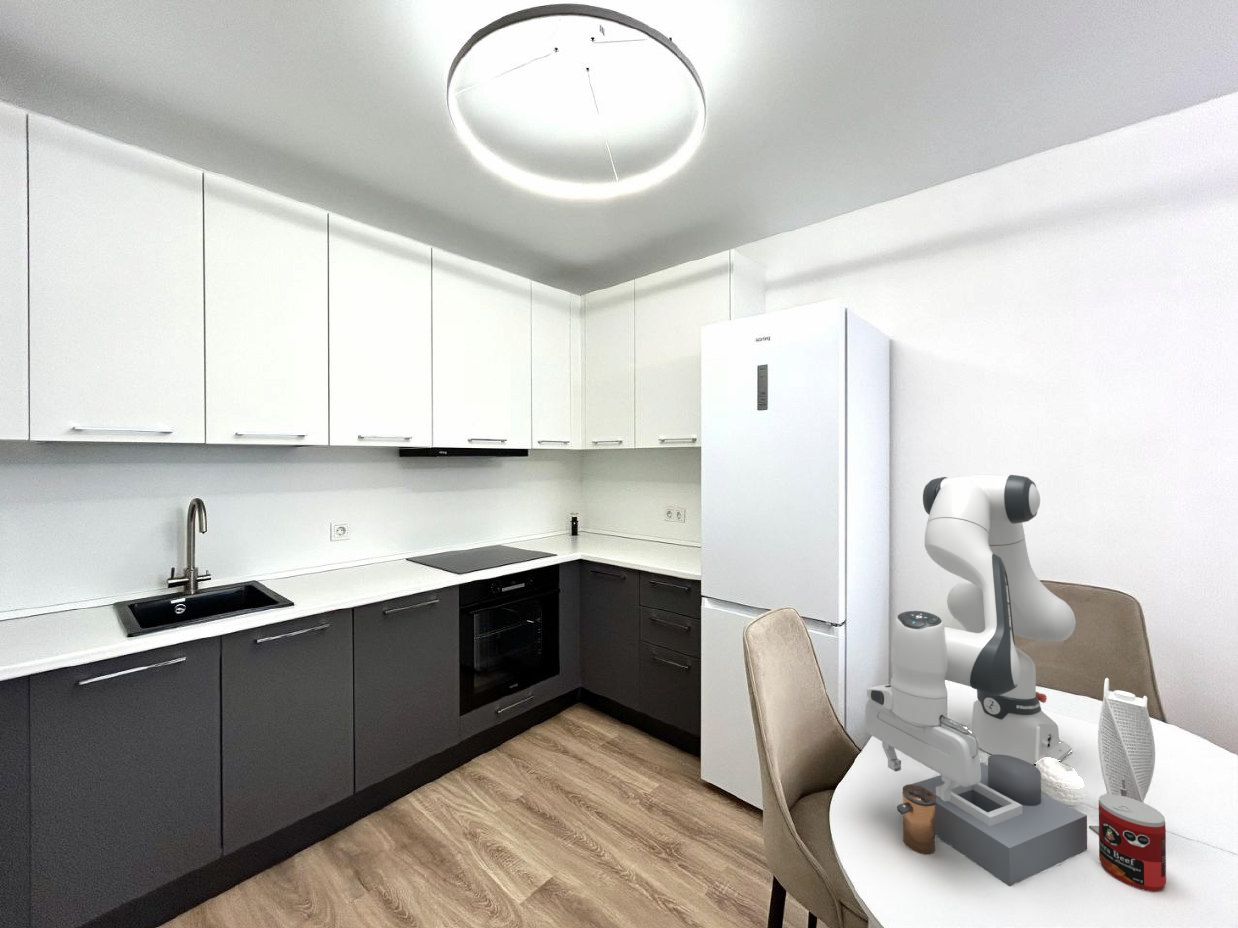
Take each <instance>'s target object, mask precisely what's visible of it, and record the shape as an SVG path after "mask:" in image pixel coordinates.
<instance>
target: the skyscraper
mask: <svg viewBox="0 0 1238 928" xmlns="http://www.w3.org/2000/svg"><path fill="white" fill-rule="evenodd" d="M1097 746H1098V747H1097V749H1098V756H1099V763H1100V769H1101V774H1102V777H1103V778H1102V779H1103V783H1104V786H1105V789H1106V793H1105V794H1115V795H1121V796H1125V797H1129V798H1132V799H1135V800H1138V801H1140V802H1143V803H1145V802H1144V801H1145V798H1146V796H1147V794H1148V792H1149V789H1150V786H1151V783H1152V780H1153V776H1154V771H1155V765H1156V764H1155V763H1156V742H1155V737H1154V731H1153V727H1152V722H1151V717H1150V714H1149V710H1148V697H1147V695H1144V696H1143V698H1142V697H1138V696H1136V695H1135V694H1134V693H1132V692H1130V691H1129V692H1128V691H1126V690H1125V691H1124V690H1118V689H1117V690H1113V691H1111V690H1110V679H1109V678H1108V677H1106V678H1105V679H1104V685H1103V698H1102V704H1101V710H1100V714H1099V722H1098V730H1097ZM1088 829H1090V830H1091V831H1092V832H1093V833H1095V834H1096V835H1097V836H1099V825H1088Z"/></svg>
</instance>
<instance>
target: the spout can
mask: <svg viewBox="0 0 1238 928" xmlns="http://www.w3.org/2000/svg"><path fill="white" fill-rule="evenodd" d="M901 790H902V791H901V792H902V803H900V804H897V805H896V809H897V810H896V811H897V812H898V813H899V814H900V815H902V842H903V843H904V845H905V846H907V848H909V850H911V851H913V852H915V853H917V854H921V855H926V856H927V855H933V854H934V853H936V835H935V804H936V796H935V795H934V794H933V793H932V792H931V791H930V790H928V789H926V788H924V787H921V786H918V785H910V784H906V785H903V786H902V788H901Z"/></svg>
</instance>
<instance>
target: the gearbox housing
mask: <svg viewBox="0 0 1238 928" xmlns="http://www.w3.org/2000/svg"><path fill="white" fill-rule="evenodd" d="M980 766H981V781H980V782H979V783H977V784H975V785H973V786H969V787H963V786H961V785H959V784H956V785H955V786H954V787H953V789H952V790H951V799H950V800H949V801H946V802H945V801H943V800H942V799H940V798H938V797H937V796H936V787H937V786H940V785H944V783H945V782H944V781H942V775H941V774H940V775H936V776H934V777H930V778H927V779H924V780H920V781H917V782H915V783H911V784H910V783H909V785H918V786H921V787H924V788H926V789H928V790H930V791H931V792H932V793H933V794H934V795H935V796H936V804H935V837H936V838H937V837H938V838H939V839H940V840H941V841H943V842H944V843H946V844H947V845H949V846H950V847H952V848H953V849H955V850H956V851H958V852H959V853H960V854H962V855H964V857H966V858H968V859H970V861H972V862H974V863H976V864H977V865H978V866H980V867H981V868H982V869H984V870H986V871H987V872H989V874H991V875H993V876H995V877H996V878H997V879H999V880H1000V881H1001V882H1003V883H1005V885H1008V886H1009V887H1011V886H1012V885H1015V884H1017V883H1019V882H1021V881H1024V880H1025V879H1028V878H1030V877H1032V876H1035V875H1036V874H1038V873H1040V872H1043V871H1045V870H1048V869H1049V868H1051V867H1053V866H1056V865H1058V864H1061V863H1062V862H1064V861H1066V860H1068V859H1070V858H1072V857H1075V856H1077V855H1079V854H1081V853H1084V852H1085V851H1088V815H1087V814H1085V813H1083V812H1081V811H1079V810H1077V809H1075V808H1073V807H1071V806H1069V805H1068V804H1065V803H1063V802H1061V801H1059V800H1057V799H1055V798H1053V797H1051V796H1049V795H1047V794H1046V793H1044V792H1042V772H1041V771H1040V769H1039V768H1038V767H1036V765H1033V764H1030V763H1028V762H1026V761H1024V760H1022V759H1019V758H1016V757H1012V756H1008V755H1000V754H995V755H992V754H990V755H989V756H988V757H987V764H986V763H985V762H981V761H980Z"/></svg>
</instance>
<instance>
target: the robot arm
mask: <svg viewBox="0 0 1238 928" xmlns="http://www.w3.org/2000/svg"><path fill="white" fill-rule="evenodd" d="M922 492H923V493H922V504H923V508H924V511H925V513H926V514H928V517H927V522H926V527H925V532H924V548H925V550H926V552H927V555H928V556H929V558H930V559H931V560H932V561H933V562H934V563H936V564H937V565H938V566H939V567H940V568H942V569H943V570H946V571H947V572H949V573H951V574H952V575H955V576H957V577H959V578H961V579H963V580H965V581H968V582H967V583H957V584H955V585H954V586H953V587H952V588H951V589H950V590H949V591H948V595H947V598H946V599H947V600H946V603H947V604H946V605H947V609H948V611H949V613H950V614H951V616H952V617H953V618H954V619H955V620H956V621H958V622H959V623H960V625H962V627H963V628H964V629H965V630H963V629H957V628H953V627H949V626H945V625H944V622H943V620H942V618H941V617H939V616H938V615H936V614H934V613H930V612H927V611H921V610H908V611H904V612H900V613H899V614H898V615H896V617H895V621H894V624H893V630H892V637H891V648H890V661H891V665H892V669H893V672H892V676H891V679H890V684H889V683H888V684H880V685H875V686H872V687H871V686H870V687H868V688H867V689H866V697H867V699H868V700H867V701H866V703H865V711H864V726H865V729H866V731H867V733H868V735H870V736H872V737H874V738H876V739H877V740H879V741H881V742H882V744H881V745H882V747H881V748H882V750H883V751H884V754H885V755H886V758H887V767H888V768H889V769H891V770H893V772H899V771H901V770H902V760H901V759H899V758H898V755H897V752H896V751H898V752H900V753H902V754H904V755H906V756H908V757H909V758H911V759H913V760H914V761H917V762H918V763H920V764H922V765H924V766H926V767H927V768H928V769H931V770H932V771H934V772H936V773H938V774H940V775H942V781H944V782H945V783H944V785H940V786H937V787H936V796H937V797H938V798H940V799H942V800H943V801H945V802H946V801H949V800H950V799H951V790H952V789H953V787H954V786H955V785H956V784H959V785H961V786H963V787H969V786H973V785H975V784H977V783H979V782H980V781H981V766H980V763H981V759H980V755H979V754H980V753H979V751H980V750H982V751H984V752H986V753H988V754H989V755H995V754H1000V755H1008V756H1012V757H1016V758H1019V759H1022V760H1024V761H1026V762H1028V763H1030V764H1032V765H1034V764H1035V763H1036V762H1037V761H1039V760H1040V759H1042V758H1044V757H1051V758H1055V759H1057V760H1062V761H1063V760H1064V759H1065V758H1066V757H1067V756H1068V753H1069V752H1070V751H1071V750H1072V751H1073V748H1072V746H1070V744H1068V743H1066V742H1065V741H1063V740H1061V739H1060V731H1059V725H1058V724H1057V723H1056V722H1055V721H1054V720H1053V719H1052V718H1051V717H1049V716H1048V715H1047V714H1046V713H1045V712H1044V711H1043V710H1042V707H1041V703H1043V704H1045V703H1046V702H1047V699H1048V697H1047V695H1046V694H1044V693H1041V692H1038V691H1037V690H1036V689H1037V688H1036V684H1037V678H1036V677H1037V676H1036V675H1037V672H1036V671H1037V669H1036V668H1037V667H1036V665H1035V663H1034V661H1033V659H1032V658H1031V657H1030V656H1029V655H1028V654H1027V653H1026V652H1024V651H1022V650H1021V649H1020V648H1018V646H1016V642H1015V636H1017V637H1021V638H1024V639H1030V640H1033V641H1041V642H1053V643H1054V642H1055V643H1057V642H1058V643H1062V642H1064V641H1065V640H1067V639H1069V638H1070V637H1071V636H1072V635H1073V633H1074V631H1075V628H1076V622H1077V621H1076V617H1075V613H1074V611H1073V610H1072V608H1071V606H1070V605H1069V604H1068V603H1067V602H1066V601H1065V600H1063V599H1061V598H1060V597H1058V596H1057V595H1056V594H1054V593H1053V592H1052V591H1050V590H1049V589H1048V588H1047V587H1046V586H1045V585H1044V584H1043V582H1041V580H1040V578H1038V577H1037V575H1036V574H1035V572H1034V570H1033V568H1032V566H1031V562H1030V557H1029V555H1028V554H1029V553H1028V548H1027V544H1026V536H1025V530H1024V526H1023V525H1024V524H1023V523H1026V522H1030V521H1031V520H1033V519H1034V518H1036V517H1037V514H1038V511H1039V508H1040V504H1041V496H1040V492H1039V490H1038V488H1037V485H1036V483H1035V482H1034V481H1033V480H1031V478H1029V477H1028V476H1023V475H1016V474H1009V475H999V474H998V475H997V474H974V475H962V476H961V475H960V476H953V477H951V476H950V477H947V476H941V477H937V478H933V479H931V480H930V481H928V482H927V484H925V486H924V488H923V491H922ZM946 681H948V682H952V683H955V684H956V683H957V684H959V685H964V686H966V687H971V688H972V689H973V690H976V698H977V700H975V701H974V702H973V704H972V712H971V713H972V714H971V723H970V724H971V725H969V726H966V725H965V724H963V723H958V722H957V721H955V720H953V719H951V718H949V717H948V689H947V687H946ZM1059 742H1061V743H1059ZM979 749H980V750H979ZM1066 755H1067V756H1066ZM1065 756H1066V757H1065ZM1064 757H1065V758H1064ZM1063 758H1064V759H1063ZM1034 766H1035V765H1034Z"/></svg>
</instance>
